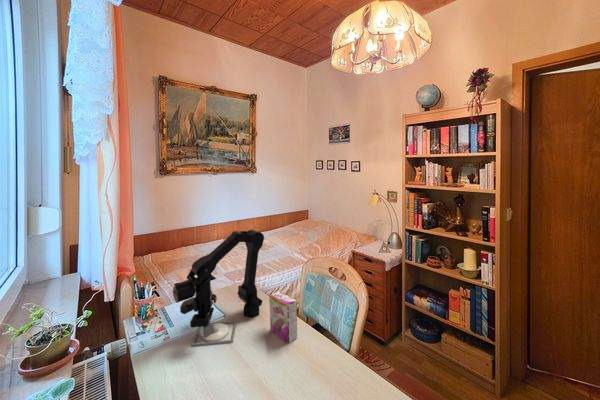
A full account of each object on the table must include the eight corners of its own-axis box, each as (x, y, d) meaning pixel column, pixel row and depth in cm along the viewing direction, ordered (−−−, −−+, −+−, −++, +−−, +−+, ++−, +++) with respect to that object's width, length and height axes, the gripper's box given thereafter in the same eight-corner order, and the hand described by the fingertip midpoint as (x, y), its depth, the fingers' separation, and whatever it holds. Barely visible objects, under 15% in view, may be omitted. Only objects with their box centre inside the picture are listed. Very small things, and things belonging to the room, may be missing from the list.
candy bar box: (269, 331, 109) (268, 294, 107) (278, 326, 113) (278, 290, 110) (288, 344, 102) (288, 304, 99) (297, 338, 105) (297, 299, 103)
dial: (218, 323, 113) (218, 311, 113) (233, 331, 107) (233, 320, 107) (197, 335, 106) (196, 323, 105) (212, 345, 100) (211, 333, 99)
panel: (236, 324, 114) (236, 320, 114) (233, 345, 101) (232, 340, 101) (200, 327, 112) (200, 323, 112) (192, 349, 99) (191, 344, 99)
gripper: (188, 282, 111) (191, 316, 114) (173, 307, 93) (177, 347, 96) (215, 281, 113) (217, 314, 115) (206, 305, 95) (209, 344, 97)
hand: (205, 328), depth 106 cm, fingers closed
